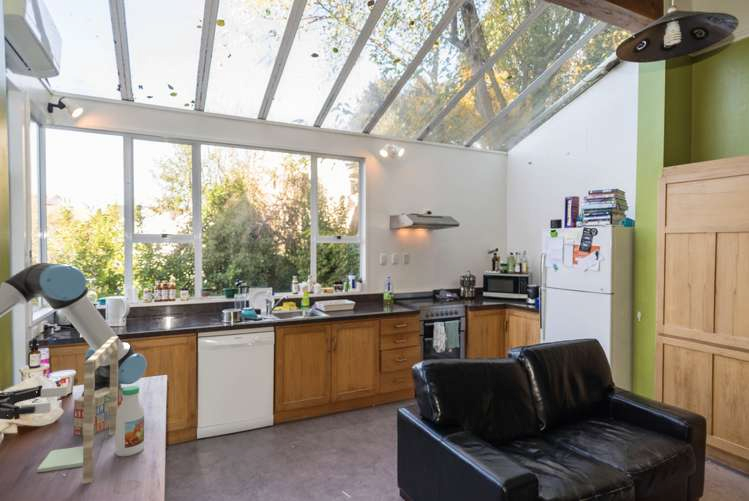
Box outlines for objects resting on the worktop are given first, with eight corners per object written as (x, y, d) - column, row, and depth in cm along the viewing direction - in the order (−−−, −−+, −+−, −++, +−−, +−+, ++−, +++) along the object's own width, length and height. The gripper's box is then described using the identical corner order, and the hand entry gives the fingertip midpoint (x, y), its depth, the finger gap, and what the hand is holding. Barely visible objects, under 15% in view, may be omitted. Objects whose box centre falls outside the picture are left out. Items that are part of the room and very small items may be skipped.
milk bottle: (113, 459, 125) (114, 393, 124) (117, 447, 132) (118, 385, 131) (142, 454, 128) (143, 390, 127) (145, 443, 135) (146, 382, 134)
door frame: (110, 432, 142) (111, 336, 141) (117, 431, 142) (118, 336, 142) (82, 484, 112) (84, 362, 111) (91, 482, 113) (92, 362, 112)
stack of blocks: (124, 410, 160) (124, 379, 160) (138, 412, 159) (138, 380, 159) (73, 435, 140) (73, 399, 139) (88, 437, 138) (88, 400, 138)
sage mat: (51, 453, 127) (51, 450, 127) (93, 448, 131) (93, 444, 131) (37, 472, 117) (37, 469, 117) (83, 465, 121) (83, 462, 121)
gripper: (-11, 403, 126) (72, 396, 134) (-62, 440, 103) (41, 429, 111) (-10, 379, 126) (72, 373, 134) (-62, 410, 103) (42, 401, 111)
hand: (59, 398), depth 122 cm, fingers open, 13 cm apart
